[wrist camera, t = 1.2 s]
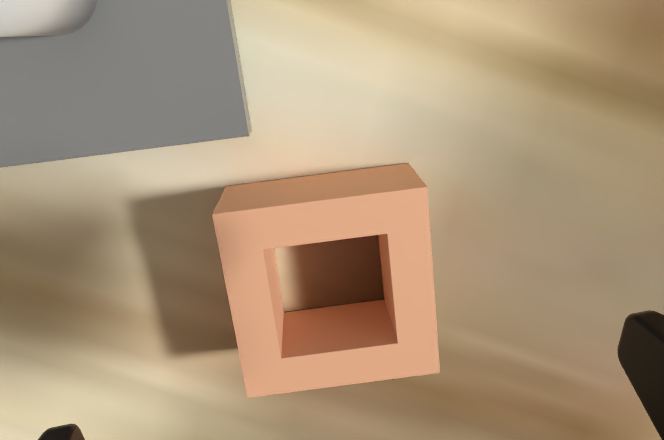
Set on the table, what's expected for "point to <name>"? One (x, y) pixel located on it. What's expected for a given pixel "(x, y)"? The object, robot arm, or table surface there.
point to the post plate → (116, 77)
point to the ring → (335, 321)
